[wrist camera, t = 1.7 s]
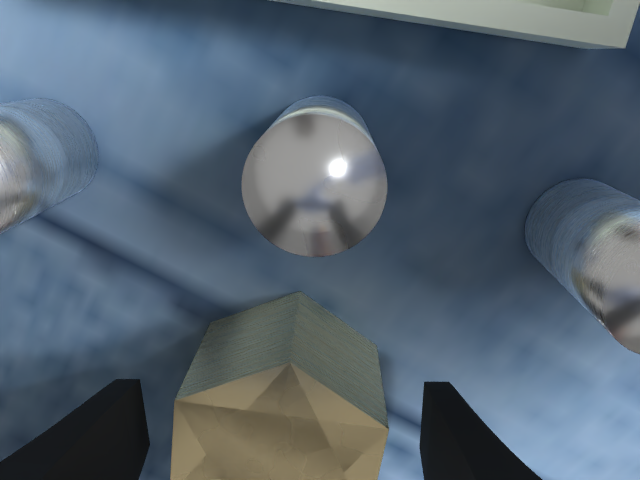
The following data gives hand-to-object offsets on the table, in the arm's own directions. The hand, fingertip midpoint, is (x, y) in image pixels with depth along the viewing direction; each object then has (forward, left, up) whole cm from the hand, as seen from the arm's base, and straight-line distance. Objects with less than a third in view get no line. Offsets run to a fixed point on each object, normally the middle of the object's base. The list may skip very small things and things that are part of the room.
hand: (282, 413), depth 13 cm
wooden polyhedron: (0, 0, -2) cm, 2 cm away
